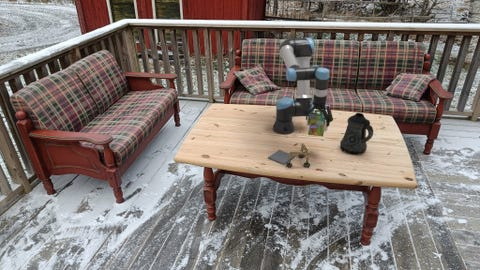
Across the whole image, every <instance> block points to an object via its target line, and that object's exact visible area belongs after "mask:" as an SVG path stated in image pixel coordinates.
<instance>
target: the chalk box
mask: <svg viewBox="0 0 480 270" xmlns="http://www.w3.org/2000/svg"><path fill="white" fill-rule="evenodd" d="M325 122H326V119H325V117H324V115H323V113H322V112H321V110H317V109H314V112H313V113H311V116H310V125H308V126H309V127H308V136H317V137H324V133H325V132H324V128H325Z"/></svg>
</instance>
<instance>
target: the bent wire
mask: <svg viewBox="0 0 480 270" xmlns="http://www.w3.org/2000/svg"><path fill="white" fill-rule="evenodd" d="M300 148H301V149H300V151H289V152H288V153H289V160H288V162H287V163H286V164H285V167H286V168H287V167H288V168H287V169H291V167H292V168H293V163H291V155H295V156H296V155H298V156H297V157H298V158H300V159H305V162H303V165H302V166H303V167H304V168H306V167H308V168H311V164H310V163H309V157H310V151H309V149H308V148H307V147H306V145H305V144H304V143H301V146H300ZM305 157H306V158H305Z"/></svg>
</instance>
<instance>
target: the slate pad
mask: <svg viewBox="0 0 480 270" xmlns="http://www.w3.org/2000/svg"><path fill="white" fill-rule="evenodd" d="M289 153H290V152H287V151H284V150H281V149H278V150H277V151H275V152H273V153H272V154H270V155H269V156H268V157H267V159H268V160H271V161H273V162H276V163H278V164H280V165H282V166H283V165H285V166H286V164H287V163H288V160H289ZM295 157H296V155H291V160H293V159H294V158H295Z"/></svg>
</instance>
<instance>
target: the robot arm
mask: <svg viewBox="0 0 480 270" xmlns="http://www.w3.org/2000/svg"><path fill="white" fill-rule="evenodd" d="M315 49H316V48H315V42H314V40H313V38H311V37H295V38H294V37H293V38H292V37H290V38H286V39H285V40H283V41H282V42H281V43H280V45H279V48H278V54H279V56H280V57H281V59H282V60H283V62H284V65H285V67H286V71H285V77H286V80H287V81H288V82H296V81H297V84H296V85H297V87H296V89H297V95H296V96H295V100H294V98H292V97H282V98H279V99H278V100H277V101H276V105H275V108H276V109H275V121H274V123H273V126H272V130H273V132H274V133H276V134H278V135H289V134H292V133H293V132H294V130H295V126H294V122H293V118H294V117H295V118H296V117H305V121H306V126H307V127H308V126H309V125H310V117H311V113H314V112H315V110H321V112H322V113H323V115H324V117H325V119H326V120H325V127H324V133H325V132H327V131H328V128H329V127H330V123H332V122H333V121H334V118H333V114H332V109H331V108H332V105H331V104H329V105H328V104H327V103H326V102H327V99H328V98H327V97H328V96H327V95H328V89H329V79H330V69H329V68H326V67H321V66H319V65H316V64H315V65H312V66H310V65H311V64H310V62H311V61H310V60H311V59H312V58H313V55H315V52H316V50H315ZM310 81H314V88H313V89H314V91H313V97H312V95H311V94H310V93H311V86H310V85H311V83H310Z"/></svg>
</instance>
